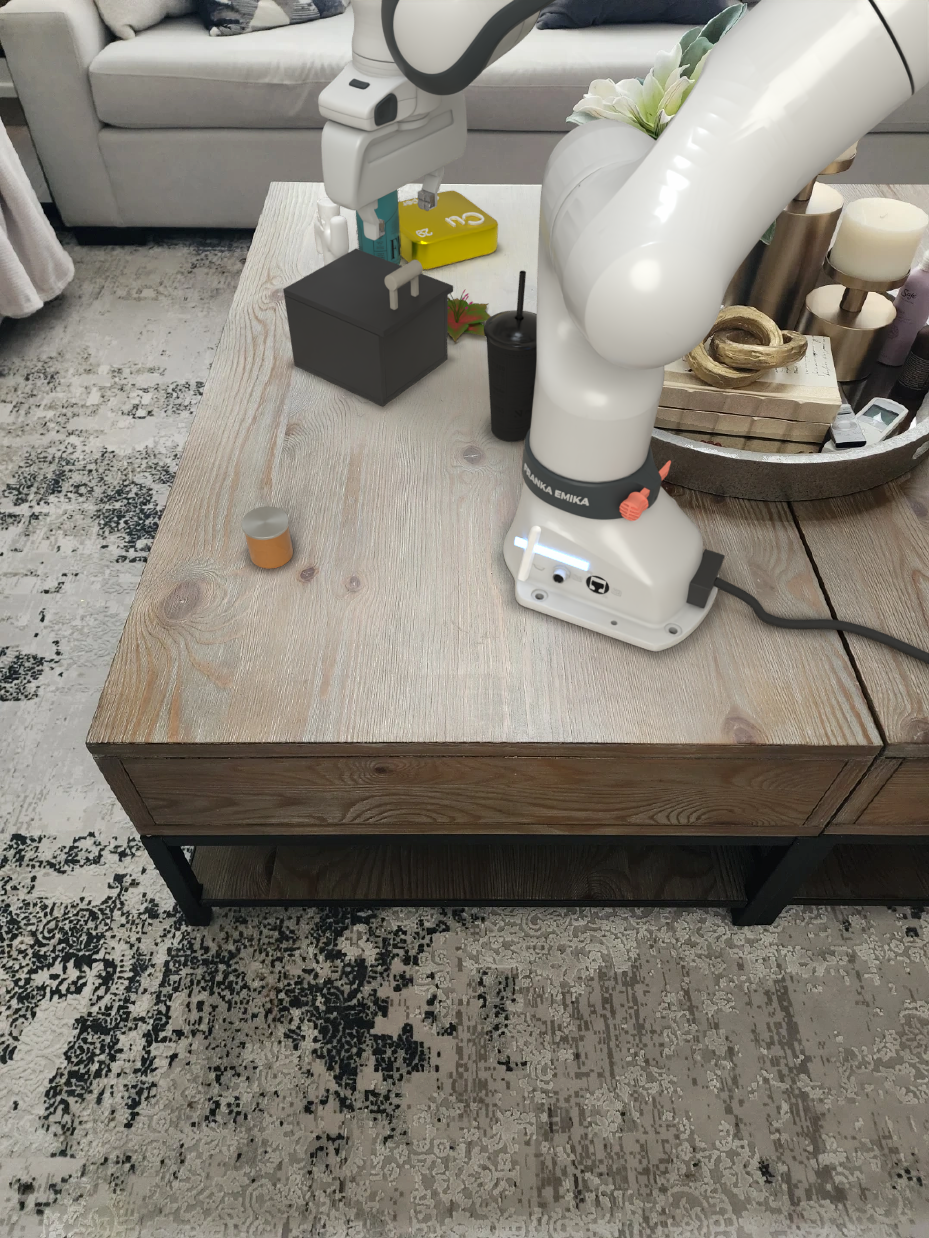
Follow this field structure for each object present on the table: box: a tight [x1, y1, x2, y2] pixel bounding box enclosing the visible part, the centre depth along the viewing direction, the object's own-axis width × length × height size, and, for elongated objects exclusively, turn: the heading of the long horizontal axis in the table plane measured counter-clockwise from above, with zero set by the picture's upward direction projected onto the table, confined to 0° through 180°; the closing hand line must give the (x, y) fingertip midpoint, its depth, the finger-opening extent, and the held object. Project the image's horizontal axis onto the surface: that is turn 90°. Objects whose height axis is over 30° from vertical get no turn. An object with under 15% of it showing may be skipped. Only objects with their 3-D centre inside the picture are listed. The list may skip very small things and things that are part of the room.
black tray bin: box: [283, 294, 449, 407], centre depth 109 cm, size 15×14×10 cm
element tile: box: [398, 190, 499, 271], centre depth 134 cm, size 15×15×5 cm
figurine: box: [302, 196, 350, 278], centre depth 116 cm, size 7×9×15 cm
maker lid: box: [282, 248, 454, 337], centre depth 103 cm, size 16×14×5 cm
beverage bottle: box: [354, 189, 403, 265], centre depth 121 cm, size 6×7×20 cm
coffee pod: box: [240, 505, 294, 570], centre depth 87 cm, size 5×5×4 cm
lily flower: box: [448, 287, 492, 343], centre depth 118 cm, size 12×12×5 cm
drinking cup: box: [483, 270, 537, 443], centre depth 96 cm, size 8×8×20 cm
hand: (401, 222), depth 95 cm, fingers open, 8 cm apart
